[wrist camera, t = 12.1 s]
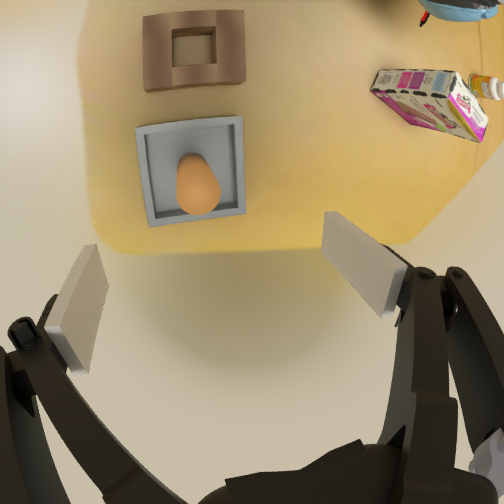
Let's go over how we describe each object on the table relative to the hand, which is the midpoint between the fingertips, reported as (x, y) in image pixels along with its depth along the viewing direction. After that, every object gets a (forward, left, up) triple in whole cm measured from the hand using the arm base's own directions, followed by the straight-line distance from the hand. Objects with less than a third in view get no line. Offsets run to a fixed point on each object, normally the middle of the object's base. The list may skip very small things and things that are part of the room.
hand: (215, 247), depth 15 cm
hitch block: (-1, -16, -25) cm, 29 cm away
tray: (0, 0, -25) cm, 25 cm away
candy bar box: (-34, -11, -25) cm, 43 cm away
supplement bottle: (-61, -20, -25) cm, 69 cm away
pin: (0, 0, -24) cm, 24 cm away
